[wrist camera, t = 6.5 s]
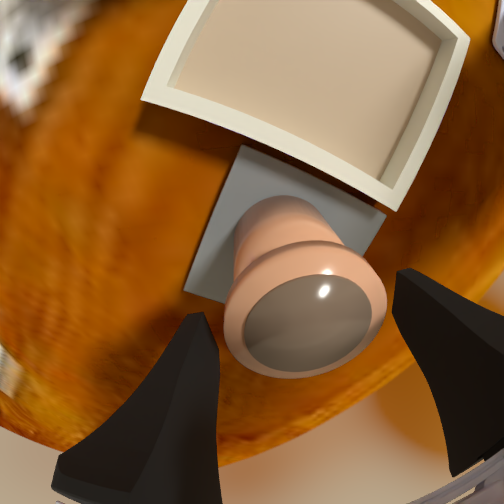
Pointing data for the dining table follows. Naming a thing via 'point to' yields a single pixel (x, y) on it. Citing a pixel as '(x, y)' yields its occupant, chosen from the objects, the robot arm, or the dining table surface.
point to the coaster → (261, 187)
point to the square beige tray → (319, 80)
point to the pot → (298, 293)
